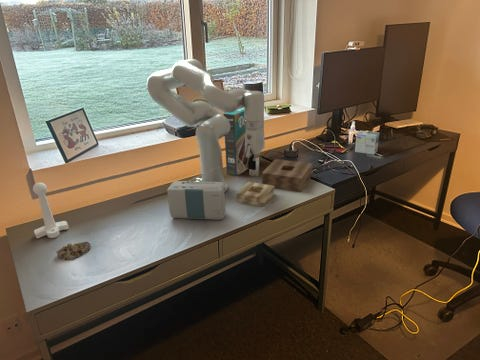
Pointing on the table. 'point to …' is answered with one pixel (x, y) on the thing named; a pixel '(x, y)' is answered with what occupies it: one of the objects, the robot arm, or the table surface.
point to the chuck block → (287, 175)
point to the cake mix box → (236, 143)
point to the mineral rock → (73, 250)
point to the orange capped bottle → (256, 172)
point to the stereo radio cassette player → (197, 199)
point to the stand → (255, 194)
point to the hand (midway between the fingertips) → (254, 166)
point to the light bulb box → (367, 142)
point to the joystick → (47, 215)
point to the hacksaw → (324, 165)
